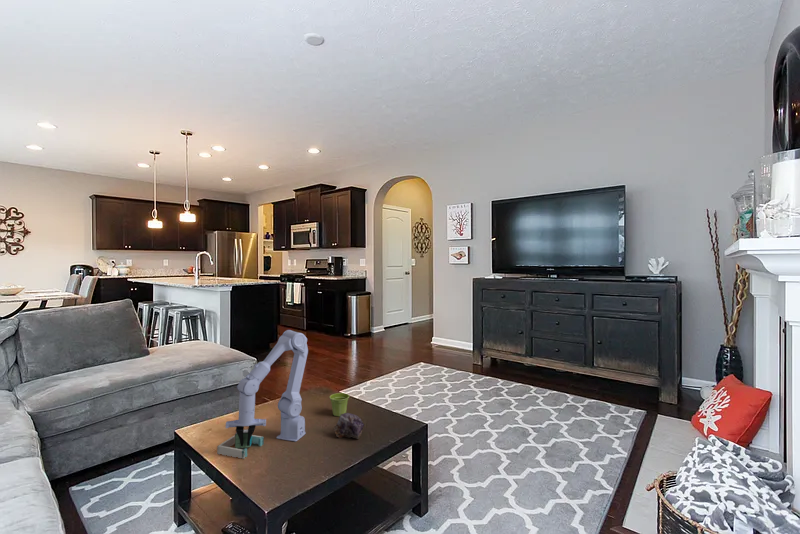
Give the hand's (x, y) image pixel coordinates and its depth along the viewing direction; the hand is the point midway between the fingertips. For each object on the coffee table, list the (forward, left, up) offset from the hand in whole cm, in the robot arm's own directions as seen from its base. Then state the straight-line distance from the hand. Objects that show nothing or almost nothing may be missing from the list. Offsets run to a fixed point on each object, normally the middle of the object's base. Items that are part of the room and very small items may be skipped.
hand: (245, 445), depth 153 cm
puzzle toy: (+3, -2, -2) cm, 5 cm away
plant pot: (-19, -44, -3) cm, 48 cm away
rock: (-33, -25, -3) cm, 41 cm away
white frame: (+3, -1, -3) cm, 4 cm away
